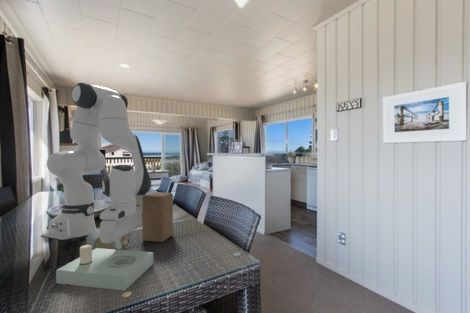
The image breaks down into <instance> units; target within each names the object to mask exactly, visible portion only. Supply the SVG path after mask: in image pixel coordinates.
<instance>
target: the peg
mask: <svg viewBox="0 0 470 313" xmlns="http://www.w3.org/2000/svg"><path fill="white" fill-rule="evenodd" d="M121 243H123V248H122V249H118V250H128V247H129V244H128V238H127V234H126V235H124V236H123V237H122V239H121Z"/></svg>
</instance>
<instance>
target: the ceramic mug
mask: <svg viewBox="0 0 470 313" xmlns="http://www.w3.org/2000/svg"><path fill="white" fill-rule="evenodd" d="M86 245H92V250H94V249H96V248H102V249H112V248H114V249H115V248H116V244H115V242H112V243H102V242H101V240H100V228H96V230H94V231H92V232H91V233H90V234H89V235H87V236H86Z"/></svg>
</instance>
